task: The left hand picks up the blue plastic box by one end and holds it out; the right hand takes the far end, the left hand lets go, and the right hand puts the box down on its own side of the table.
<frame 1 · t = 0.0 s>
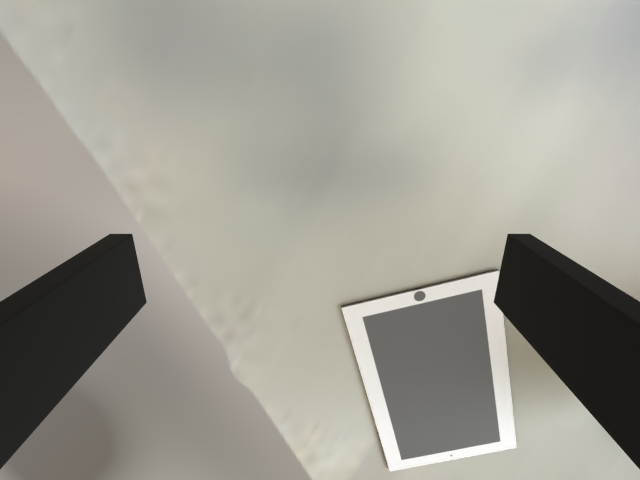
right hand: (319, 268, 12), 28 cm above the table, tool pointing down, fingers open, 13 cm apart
tablet: (435, 381, 50), on the table
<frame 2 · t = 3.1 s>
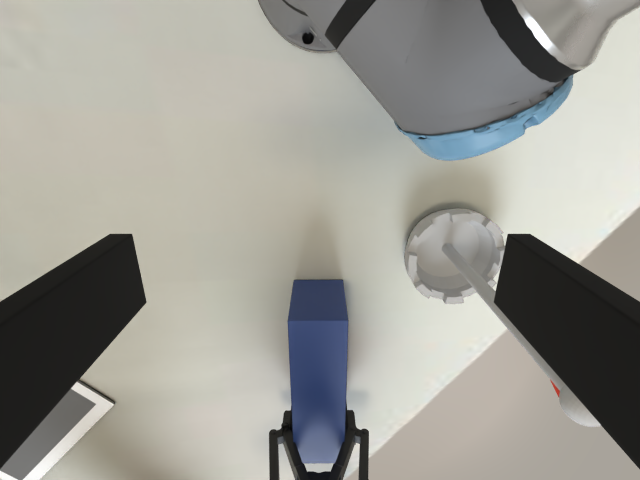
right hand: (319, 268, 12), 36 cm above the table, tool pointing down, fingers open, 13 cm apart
left hand: (319, 397, 59), fingers closed on box, 7 cm apart
flag stand: (444, 245, 51), on the table
box: (318, 347, 57), on the table, touching left hand
tablet: (19, 420, 63), on the table
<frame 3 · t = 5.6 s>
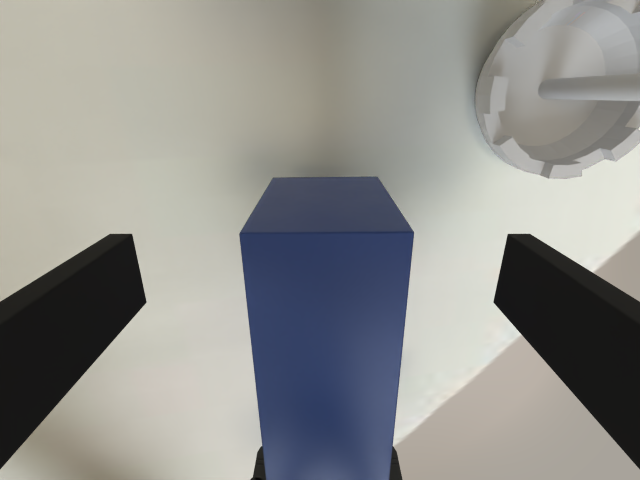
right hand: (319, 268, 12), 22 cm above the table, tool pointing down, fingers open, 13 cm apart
flag stand: (539, 89, 30), on the table
box: (325, 323, 29), point 8 cm above the table, touching left hand
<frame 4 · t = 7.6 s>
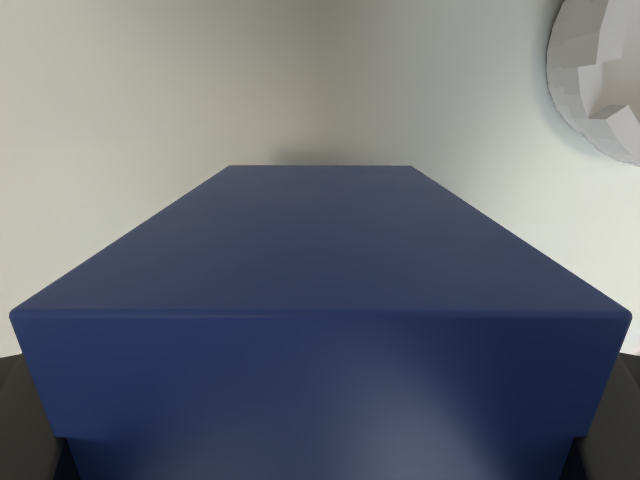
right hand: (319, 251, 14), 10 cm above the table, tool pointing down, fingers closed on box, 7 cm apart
box: (319, 402, 19), point 8 cm above the table, touching right hand, left hand
when the left hand's fingers open (10 cm above the table, at t = 8.6 s): box stays where it is, held by the right hand.
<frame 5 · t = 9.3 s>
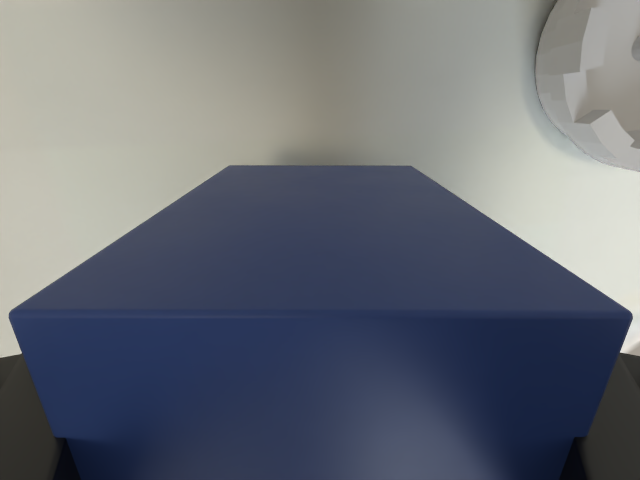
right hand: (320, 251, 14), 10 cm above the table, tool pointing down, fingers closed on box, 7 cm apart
flag stand: (627, 50, 21), on the table
box: (319, 402, 19), point 9 cm above the table, touching right hand
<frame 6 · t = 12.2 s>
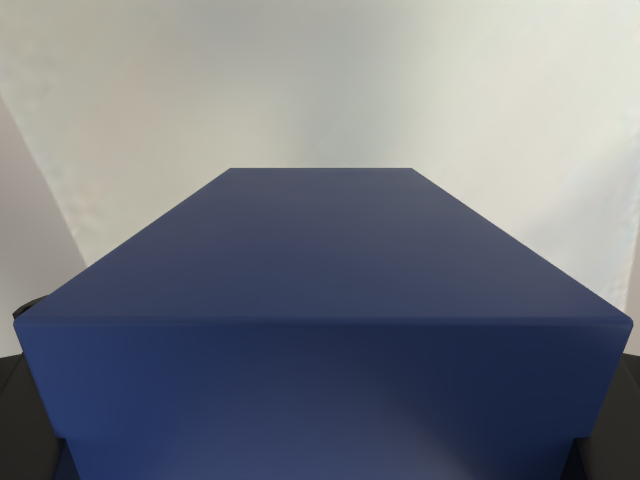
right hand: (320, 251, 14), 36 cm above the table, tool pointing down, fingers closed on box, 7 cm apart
box: (320, 403, 19), point 34 cm above the table, touching right hand
when the right hand's fingers open (3 cm above the table, at t = 16.7 s): box drops 2 cm, on the table.
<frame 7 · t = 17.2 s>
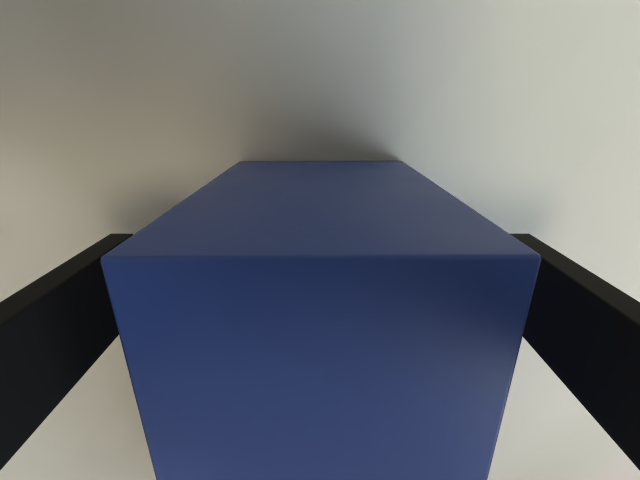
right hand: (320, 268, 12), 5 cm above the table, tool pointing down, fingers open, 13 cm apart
box: (321, 379, 20), on the table
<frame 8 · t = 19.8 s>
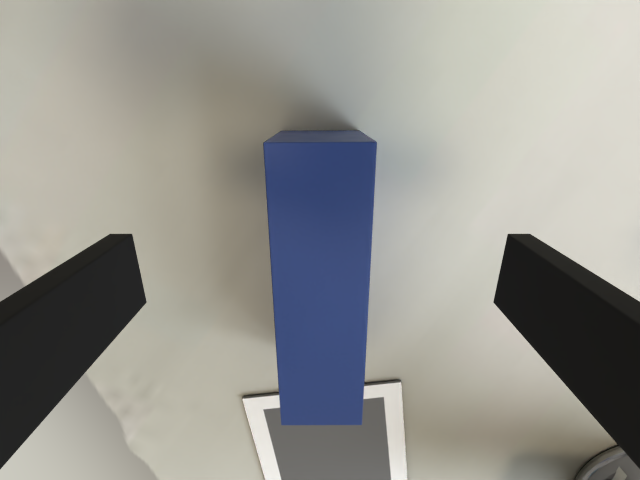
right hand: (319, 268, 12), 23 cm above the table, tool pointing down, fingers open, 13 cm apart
box: (320, 253, 37), on the table
tablet: (335, 472, 50), on the table
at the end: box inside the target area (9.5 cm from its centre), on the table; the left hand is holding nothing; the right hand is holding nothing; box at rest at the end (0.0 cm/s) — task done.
